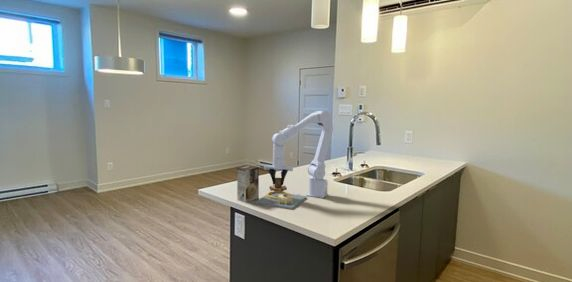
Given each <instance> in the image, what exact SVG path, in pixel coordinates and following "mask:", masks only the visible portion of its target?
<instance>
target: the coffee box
mask: <svg viewBox="0 0 572 282" xmlns="http://www.w3.org/2000/svg"><path fill="white" fill-rule="evenodd" d="M259 168H260V167H259V166H255V165H252V164H251V165H245V166H241V167H237V168H236V171H237V173H236V176H237V177H236V179H237V181H236V183H237V190H236V191H237V192H236V194H237V195H236V196H237V201H241V202H243V203H248V201H249V202H251V201H254V200H258V199H260V198H259V197H260V196H259V194H260V193H259V191H260V187H259V185H260V184H259V183H260V182H259V180H260V178H259V176H260V173H259Z"/></svg>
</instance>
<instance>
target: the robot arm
mask: <svg viewBox="0 0 572 282" xmlns="http://www.w3.org/2000/svg"><path fill="white" fill-rule="evenodd" d="M312 124H317V125H319V127H320V129H321V133H320V136H319V139H318V143H317V147H316V151H315V155H314V158H313V160H311V162H310V164H309V165H308V167H307V173H308V175H309V176H308V193H306V194H305V196H306V197H312V198H313V197H315V198H322V199H324V198H325V197H326V196H327V195H328V184H329V183H328V180H327V179H326V178H324V177H325V175H326V164H325V160H326V156H327V153H328V150H329V145H330V141H331V139H332V135H333V131H334V126H333V116H332V114H331V113H330V112H329V111H327V110H315V111H314V112H312V113H310V114H309V115H307V116H305V118H303V119H302V120H300V121H299V122H298V123H295V124H288V125H286V128H284V129H283V130H279V132H277V133H274V134H273V135H272V137H271V142H272V143H273V145H272V148H273V149H272V164H265V165H264V166H263V170H265V171H266V170H268V174H269V175H270V178H271V180H272V185H275V178H276V171H281V172H280V175H281V177H280V178H281V185H282V186H284V183H285V178H286V176H287V173H288V171H289V172H293V171H294V166H288V165H285V151H286V150H285V146H286V144H287V142H288V141H289V140H291V139H293V138H294V137H296V136H298V134H299V131H300V130H302V129H305V128H306V127H308V126H309V125H312Z"/></svg>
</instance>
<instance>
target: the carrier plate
mask: <svg viewBox="0 0 572 282" xmlns="http://www.w3.org/2000/svg"><path fill="white" fill-rule="evenodd" d="M306 199H307V196H306V195H300V194H295V193H293V194H292V193H290V192H288V191H286V190H284V191H283V192H282V191H277V192H275V191H271V190H270V191H268V192H266V195H263V197H260V198H258V199H256V200H255V201H254V204H255V203H256V204H255V205H261V204H262V206H267V205H269V206H268V207H273V206H274V208H279V207H280V209H285V210H294V209H295V208H296V207H298V205H300V204H301V203H302V202H303V201H305V200H306Z"/></svg>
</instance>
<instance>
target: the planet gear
mask: <svg viewBox="0 0 572 282" xmlns="http://www.w3.org/2000/svg"><path fill="white" fill-rule="evenodd" d="M287 189H288V188H287V186H286V185H281V177H275V184H272V186H271V185H270V186H269V190H270V192H271V191H275V192H277V191H282V192H283V191H288V190H287Z"/></svg>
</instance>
